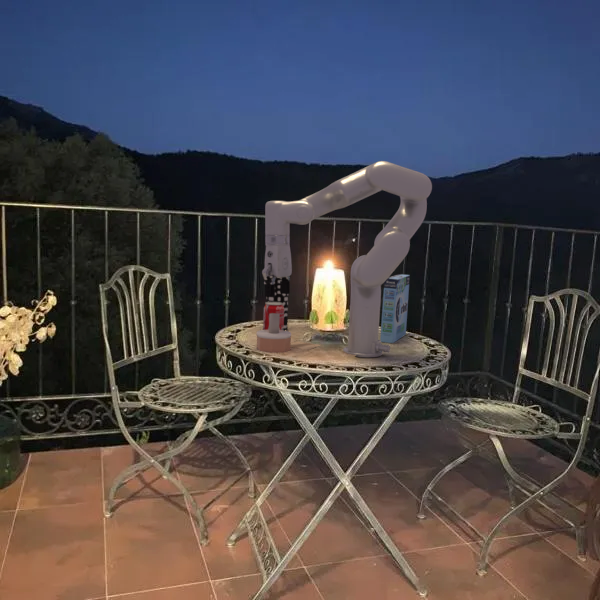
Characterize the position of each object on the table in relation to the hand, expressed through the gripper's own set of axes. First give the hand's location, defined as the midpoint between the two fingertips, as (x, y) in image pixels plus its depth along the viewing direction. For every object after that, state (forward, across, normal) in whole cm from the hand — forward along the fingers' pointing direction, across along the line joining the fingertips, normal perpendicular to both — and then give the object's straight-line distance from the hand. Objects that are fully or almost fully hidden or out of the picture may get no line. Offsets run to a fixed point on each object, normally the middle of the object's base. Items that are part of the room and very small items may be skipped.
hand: (277, 295), depth 199 cm
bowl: (+18, -1, +1) cm, 18 cm away
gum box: (+20, +45, -24) cm, 55 cm away
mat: (+18, +9, -4) cm, 21 cm away
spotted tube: (+18, +34, +19) cm, 43 cm away
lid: (+13, 0, +1) cm, 13 cm away
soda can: (+18, +15, +10) cm, 26 cm away
